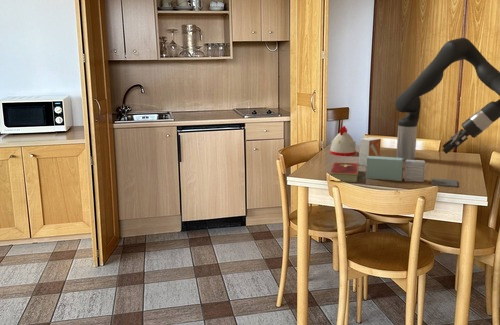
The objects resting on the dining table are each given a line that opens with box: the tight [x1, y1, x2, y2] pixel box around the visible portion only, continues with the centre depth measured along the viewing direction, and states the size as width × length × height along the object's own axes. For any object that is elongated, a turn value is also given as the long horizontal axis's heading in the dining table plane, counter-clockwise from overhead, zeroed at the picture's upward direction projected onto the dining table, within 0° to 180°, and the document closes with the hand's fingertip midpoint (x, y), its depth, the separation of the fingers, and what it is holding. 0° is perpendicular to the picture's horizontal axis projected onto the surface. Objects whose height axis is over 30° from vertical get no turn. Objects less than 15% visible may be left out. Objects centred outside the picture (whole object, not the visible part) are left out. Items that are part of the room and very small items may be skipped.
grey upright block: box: [404, 159, 426, 183], centre depth 205 cm, size 8×4×9 cm, turn 71°
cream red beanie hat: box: [329, 125, 357, 157], centre depth 260 cm, size 14×14×15 cm
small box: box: [358, 136, 382, 167], centre depth 234 cm, size 8×6×13 cm
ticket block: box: [365, 156, 405, 182], centre depth 209 cm, size 5×15×9 cm, turn 69°
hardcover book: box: [329, 161, 360, 183], centre depth 215 cm, size 12×21×4 cm, turn 166°
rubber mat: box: [430, 177, 458, 188], centre depth 201 cm, size 9×10×1 cm
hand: (444, 149), depth 199 cm, fingers open, 8 cm apart
